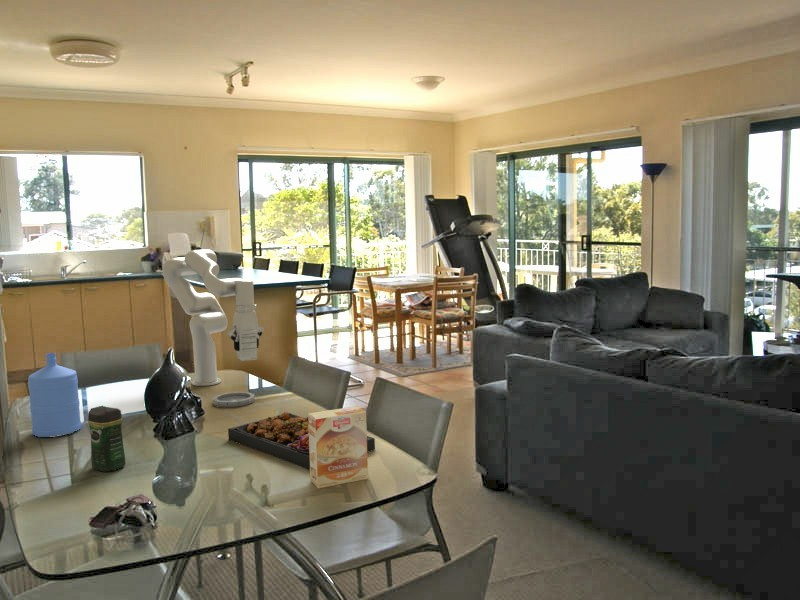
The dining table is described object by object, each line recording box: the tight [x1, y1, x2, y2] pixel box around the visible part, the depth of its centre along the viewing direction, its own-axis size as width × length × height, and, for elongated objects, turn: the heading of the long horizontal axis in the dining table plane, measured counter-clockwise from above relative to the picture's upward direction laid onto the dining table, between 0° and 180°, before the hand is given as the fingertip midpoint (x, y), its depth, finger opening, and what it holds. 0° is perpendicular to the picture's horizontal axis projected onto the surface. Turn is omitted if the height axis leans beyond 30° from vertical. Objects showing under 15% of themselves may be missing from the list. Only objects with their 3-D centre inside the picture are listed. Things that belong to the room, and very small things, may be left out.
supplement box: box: [236, 330, 258, 362], centre depth 301 cm, size 7×7×13 cm
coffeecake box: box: [307, 405, 369, 489], centre depth 196 cm, size 15×7×20 cm, turn 115°
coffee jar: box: [87, 405, 126, 472], centre depth 211 cm, size 10×8×19 cm
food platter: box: [227, 411, 376, 471], centre depth 229 cm, size 45×25×10 cm, turn 46°
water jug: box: [27, 352, 82, 438], centre depth 249 cm, size 16×16×28 cm
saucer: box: [212, 391, 255, 409], centre depth 285 cm, size 16×16×2 cm
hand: (246, 348), depth 302 cm, fingers closed on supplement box, 8 cm apart
